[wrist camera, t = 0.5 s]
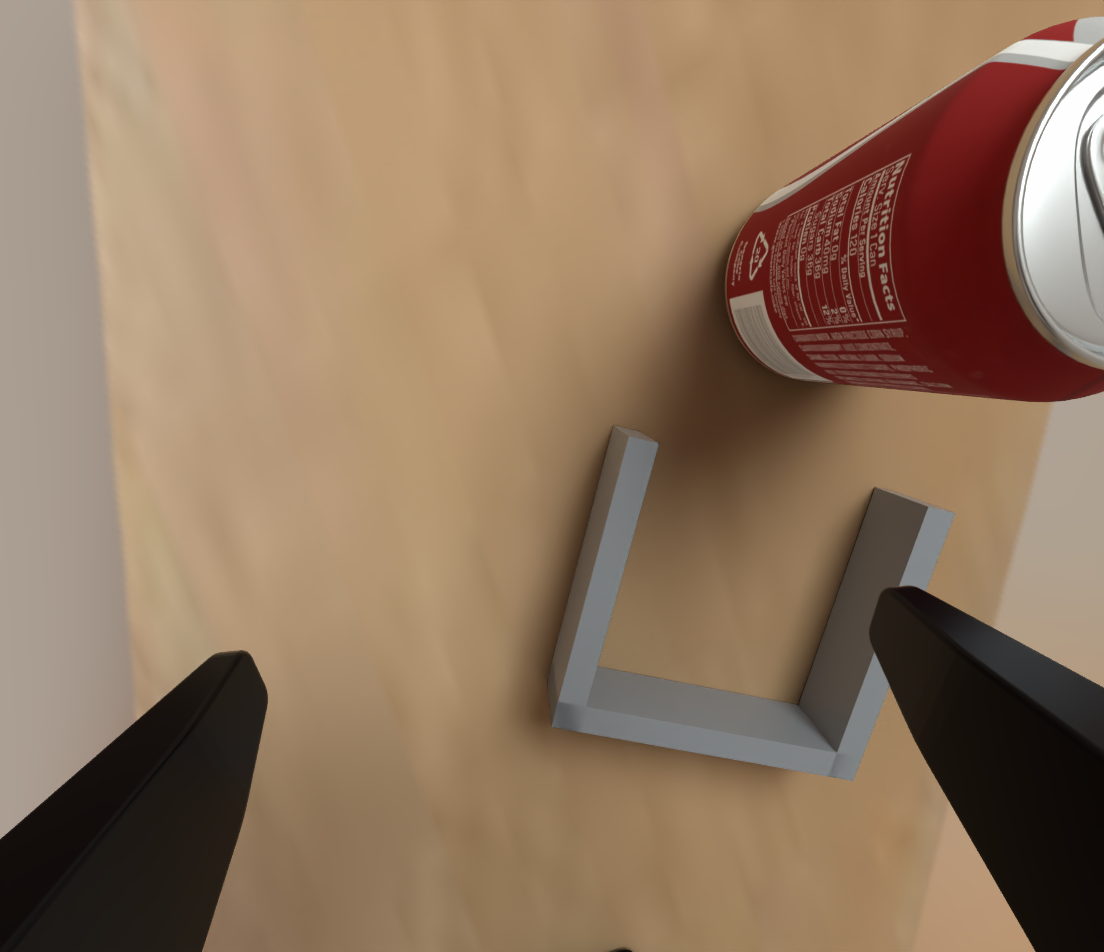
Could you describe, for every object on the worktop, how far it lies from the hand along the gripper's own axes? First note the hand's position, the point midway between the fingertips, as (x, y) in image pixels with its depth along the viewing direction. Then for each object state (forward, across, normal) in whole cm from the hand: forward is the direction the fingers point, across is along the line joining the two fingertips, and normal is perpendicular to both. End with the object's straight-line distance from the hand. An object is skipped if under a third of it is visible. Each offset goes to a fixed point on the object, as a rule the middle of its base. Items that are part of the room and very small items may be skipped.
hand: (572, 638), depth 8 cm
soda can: (+15, -10, -1) cm, 18 cm away
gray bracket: (+11, -7, +9) cm, 16 cm away
